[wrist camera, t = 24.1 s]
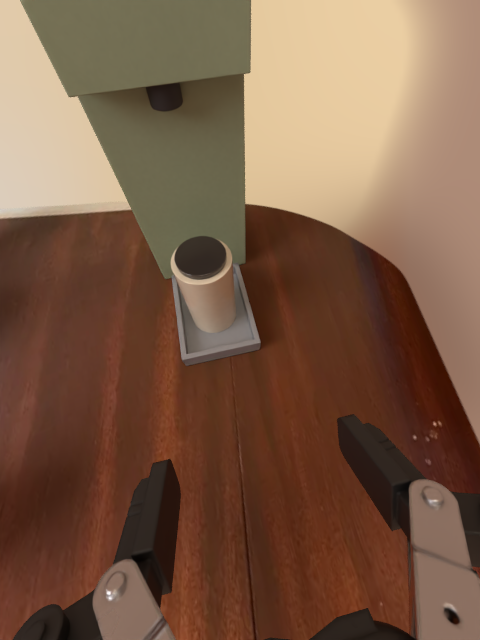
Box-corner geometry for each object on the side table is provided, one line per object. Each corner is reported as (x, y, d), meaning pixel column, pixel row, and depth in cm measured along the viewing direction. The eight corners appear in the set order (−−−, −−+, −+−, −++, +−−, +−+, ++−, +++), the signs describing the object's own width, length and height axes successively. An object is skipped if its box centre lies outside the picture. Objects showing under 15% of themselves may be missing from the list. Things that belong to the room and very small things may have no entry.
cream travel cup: (231, 290, 35) (225, 227, 25) (240, 327, 32) (237, 273, 22) (189, 298, 34) (165, 237, 24) (195, 337, 32) (171, 286, 22)
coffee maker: (235, 230, 41) (220, -57, 18) (271, 347, 32) (335, 62, 8) (161, 244, 40) (42, -41, 17) (174, 368, 31) (-51, 114, 7)
